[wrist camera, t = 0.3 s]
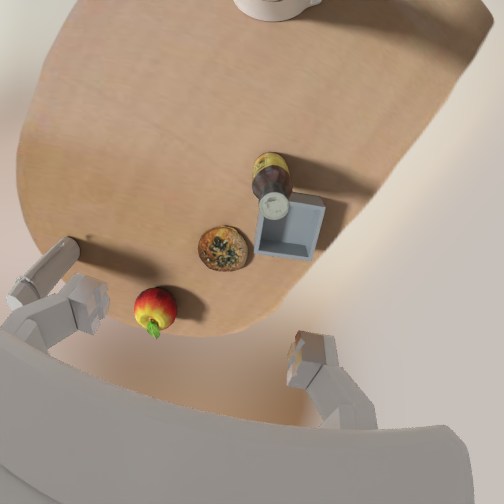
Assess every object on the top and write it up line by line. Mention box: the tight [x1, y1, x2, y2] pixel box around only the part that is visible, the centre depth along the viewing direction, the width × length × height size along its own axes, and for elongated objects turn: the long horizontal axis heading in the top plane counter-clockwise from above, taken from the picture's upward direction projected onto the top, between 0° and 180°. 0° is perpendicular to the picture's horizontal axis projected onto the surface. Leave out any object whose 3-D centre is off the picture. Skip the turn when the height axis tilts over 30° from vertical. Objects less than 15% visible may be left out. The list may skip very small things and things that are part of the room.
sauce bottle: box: [252, 152, 292, 220], centre depth 45 cm, size 7×6×20 cm
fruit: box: [134, 288, 177, 339], centre depth 67 cm, size 11×11×10 cm
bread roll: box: [198, 226, 248, 272], centre depth 62 cm, size 11×11×5 cm
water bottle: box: [6, 237, 80, 312], centre depth 53 cm, size 9×8×25 cm
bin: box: [254, 192, 326, 261], centre depth 57 cm, size 12×12×6 cm
